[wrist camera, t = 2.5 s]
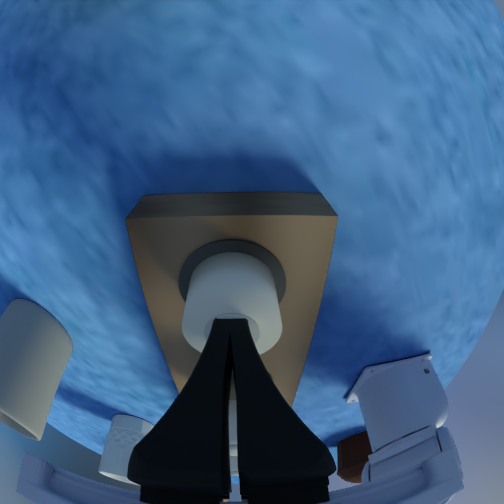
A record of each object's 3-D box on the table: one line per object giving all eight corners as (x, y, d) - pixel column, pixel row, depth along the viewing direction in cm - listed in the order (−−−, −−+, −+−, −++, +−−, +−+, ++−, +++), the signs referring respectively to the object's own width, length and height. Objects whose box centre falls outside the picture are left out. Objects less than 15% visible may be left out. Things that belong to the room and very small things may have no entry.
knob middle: (269, 399, 16) (274, 441, 14) (266, 421, 19) (269, 457, 16) (203, 399, 16) (201, 442, 14) (210, 422, 19) (209, 457, 16)
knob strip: (321, 193, 15) (339, 217, 12) (279, 413, 30) (282, 435, 27) (143, 195, 14) (123, 220, 12) (199, 415, 30) (198, 437, 27)
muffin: (363, 444, 46) (372, 481, 37) (321, 450, 44) (328, 491, 35) (396, 422, 40) (409, 464, 31) (352, 430, 38) (364, 478, 29)
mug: (46, 296, 18) (-8, 400, 9) (87, 358, 23) (59, 450, 14) (-16, 296, 18) (-60, 368, 9) (20, 348, 23) (-10, 418, 14)
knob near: (277, 251, 13) (287, 296, 10) (272, 316, 15) (278, 362, 13) (185, 252, 13) (173, 297, 10) (195, 317, 15) (189, 362, 13)
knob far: (262, 441, 22) (264, 469, 19) (260, 451, 24) (262, 476, 21) (216, 441, 22) (216, 470, 19) (220, 452, 24) (220, 477, 21)
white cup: (100, 409, 30) (87, 467, 22) (145, 414, 30) (136, 479, 22) (125, 429, 35) (117, 480, 26) (167, 433, 34) (162, 489, 26)
